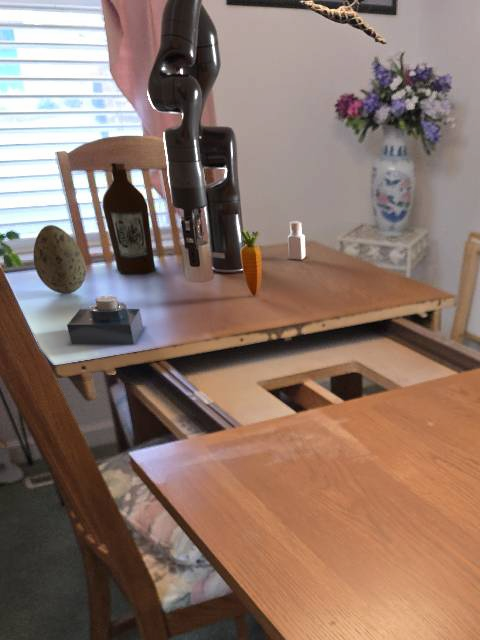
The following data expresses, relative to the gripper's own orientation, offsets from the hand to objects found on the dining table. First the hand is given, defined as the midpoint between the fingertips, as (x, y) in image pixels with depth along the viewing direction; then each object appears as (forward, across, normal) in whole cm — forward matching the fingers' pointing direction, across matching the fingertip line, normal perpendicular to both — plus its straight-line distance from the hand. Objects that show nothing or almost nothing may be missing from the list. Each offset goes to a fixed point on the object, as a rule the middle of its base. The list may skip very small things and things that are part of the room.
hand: (197, 261), depth 163 cm
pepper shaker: (+9, +38, -22) cm, 45 cm away
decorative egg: (+8, +3, +32) cm, 33 cm away
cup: (+4, 0, 0) cm, 4 cm away
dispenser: (+8, -27, +16) cm, 32 cm away
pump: (+2, -27, +15) cm, 30 cm away
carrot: (+8, +2, -12) cm, 15 cm away
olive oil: (+9, +24, +20) cm, 33 cm away
